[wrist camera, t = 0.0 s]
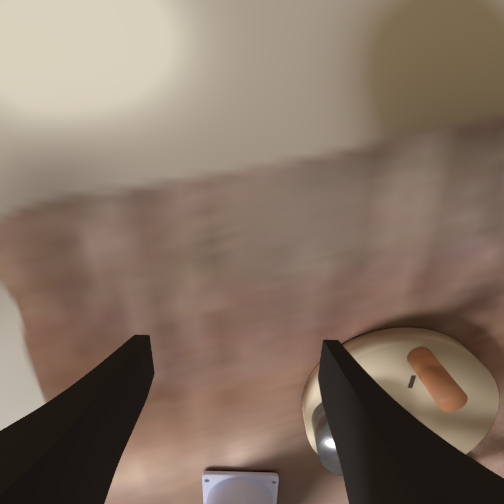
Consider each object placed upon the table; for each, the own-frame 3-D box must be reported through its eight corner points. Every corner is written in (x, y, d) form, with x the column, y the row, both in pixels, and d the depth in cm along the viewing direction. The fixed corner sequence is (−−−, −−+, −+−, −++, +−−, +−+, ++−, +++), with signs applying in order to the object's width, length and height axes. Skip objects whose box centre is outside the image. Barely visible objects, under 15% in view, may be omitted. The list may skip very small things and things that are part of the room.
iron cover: (375, 443, 25) (392, 486, 22) (308, 441, 25) (315, 484, 22) (389, 393, 23) (410, 433, 20) (315, 391, 23) (325, 430, 20)
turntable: (451, 459, 29) (498, 535, 24) (295, 455, 29) (304, 531, 24) (507, 329, 23) (587, 390, 18) (311, 324, 23) (328, 383, 18)
